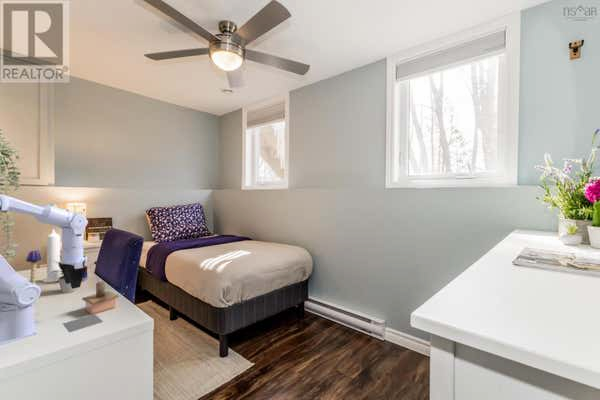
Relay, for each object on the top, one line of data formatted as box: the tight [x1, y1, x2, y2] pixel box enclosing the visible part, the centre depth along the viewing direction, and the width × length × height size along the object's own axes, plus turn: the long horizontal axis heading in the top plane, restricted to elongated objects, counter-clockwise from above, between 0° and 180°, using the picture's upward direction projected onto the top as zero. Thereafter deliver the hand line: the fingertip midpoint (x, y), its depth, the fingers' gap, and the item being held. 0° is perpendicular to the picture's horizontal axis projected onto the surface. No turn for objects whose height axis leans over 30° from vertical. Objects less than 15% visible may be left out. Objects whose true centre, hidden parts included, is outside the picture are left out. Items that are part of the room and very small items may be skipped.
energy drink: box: [82, 253, 88, 282], centre depth 127 cm, size 5×5×12 cm
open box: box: [85, 298, 116, 316], centre depth 96 cm, size 7×7×4 cm
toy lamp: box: [25, 250, 42, 285], centre depth 114 cm, size 5×5×17 cm
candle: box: [43, 228, 61, 284], centre depth 126 cm, size 7×7×25 cm
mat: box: [62, 314, 104, 333], centre depth 85 cm, size 8×8×1 cm
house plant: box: [50, 255, 78, 294], centre depth 113 cm, size 14×14×16 cm
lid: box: [81, 281, 119, 305], centre depth 96 cm, size 8×8×6 cm
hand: (72, 285), depth 92 cm, fingers open, 7 cm apart
